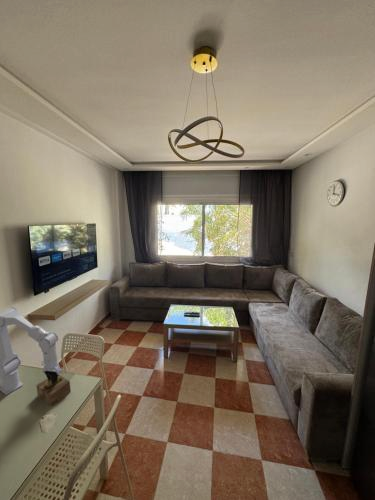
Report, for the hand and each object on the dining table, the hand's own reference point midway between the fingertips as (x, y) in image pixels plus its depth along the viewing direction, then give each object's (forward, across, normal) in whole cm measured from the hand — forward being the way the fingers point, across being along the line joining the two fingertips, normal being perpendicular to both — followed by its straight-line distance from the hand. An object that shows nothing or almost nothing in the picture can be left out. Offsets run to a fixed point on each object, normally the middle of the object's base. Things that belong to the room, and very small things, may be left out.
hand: (53, 381), depth 115 cm
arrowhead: (+8, +14, -11) cm, 19 cm away
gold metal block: (+3, 0, 0) cm, 3 cm away
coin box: (+7, 0, 0) cm, 7 cm away
